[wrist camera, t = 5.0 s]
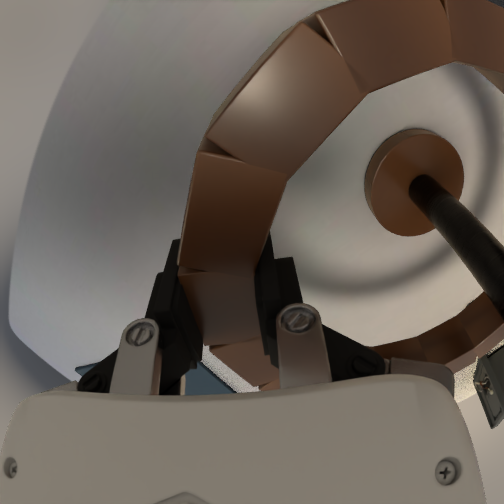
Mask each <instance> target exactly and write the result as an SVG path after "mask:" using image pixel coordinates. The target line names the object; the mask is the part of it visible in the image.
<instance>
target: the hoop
mask: <svg viewBox="0 0 504 504" xmlns="http://www.w3.org/2000/svg"><path fill="white" fill-rule="evenodd" d="M452 62H453V63H458V64H462V65H467V66H471V67H474V68H475V69H476V70H477V71H479V72H480V73H481V74H482V75H483V76H484V77H486V78H487V79H488V80H489V81H490V82H491V83H492V84H494V85H495V86H496V87H497V88H498V89H499V90H500V91H501V92H502V93H503V94H504V8H502V7H500V6H498V5H496V4H494V3H492V2H489V1H487V0H348V1H345V2H342V3H339V4H336V5H333V6H330V7H327V8H324V9H322V10H319V11H316V12H314V13H313V14H311V15H309V16H307V17H306V18H304V19H302V20H301V21H299V22H297V23H296V24H295V25H294V26H292V27H290V28H289V29H287V30H285V31H284V32H283V33H282V34H281V35H280V36H279V37H278V38H277V39H276V40H275V41H274V42H273V43H272V45H271V46H270V47H269V48H268V49H267V50H266V51H265V52H264V54H263V55H262V56H261V57H260V58H259V59H258V60H257V62H256V63H255V64H254V65H253V66H252V67H251V69H250V70H249V71H248V72H247V73H246V74H245V76H244V77H243V78H242V79H241V80H240V82H239V83H238V84H237V85H236V87H235V88H234V89H233V90H232V92H231V93H230V94H229V95H228V97H227V98H226V99H225V100H224V102H223V103H222V104H221V106H220V107H219V108H218V109H217V111H216V112H215V113H214V115H213V117H212V119H211V121H210V124H209V126H208V128H207V130H206V132H205V134H204V137H203V139H202V141H201V143H200V146H199V148H198V150H197V154H196V158H195V163H194V168H193V173H192V178H191V183H190V188H189V193H188V198H187V204H186V209H185V215H184V221H183V226H182V232H181V238H180V245H179V251H178V257H177V265H178V266H180V267H179V271H178V278H179V281H180V284H182V286H183V289H184V291H185V294H186V297H187V299H188V302H189V305H190V307H191V310H192V313H193V315H194V318H195V321H196V323H197V326H198V328H199V331H200V333H201V336H202V338H203V343H204V345H205V346H209V351H210V352H211V353H212V354H213V355H215V356H216V357H217V358H218V359H219V360H221V361H222V362H223V363H224V364H225V365H227V366H228V367H229V368H230V369H232V370H233V371H234V372H235V373H237V374H238V375H239V376H240V377H242V378H243V379H244V380H245V381H247V382H248V383H249V384H251V385H252V386H253V387H256V386H259V390H261V391H269V390H278V389H280V382H279V369H278V368H276V367H275V366H273V365H272V364H271V361H270V355H267V356H265V355H264V349H263V343H262V337H261V331H260V325H259V320H258V314H257V308H256V300H255V287H254V276H255V270H256V268H257V265H258V262H259V259H260V257H261V254H262V251H263V248H264V245H265V243H266V240H267V237H268V234H269V231H270V229H271V226H272V223H273V220H274V217H275V215H276V212H277V209H278V206H279V203H280V201H281V198H282V195H283V192H284V189H285V186H286V184H287V181H288V180H289V179H290V178H291V177H292V176H293V175H294V173H295V172H296V171H297V170H298V169H299V168H300V167H301V166H302V165H303V164H304V162H305V161H306V160H307V159H308V158H309V157H310V156H311V155H312V154H313V153H314V151H315V150H316V149H317V148H318V147H319V146H320V145H321V144H322V143H323V142H324V141H325V139H326V138H327V137H328V136H329V135H330V134H331V133H332V132H333V131H334V130H335V129H336V128H337V126H338V125H339V124H340V123H341V122H342V121H343V120H344V119H345V118H346V117H347V116H348V115H349V114H350V112H351V111H352V110H353V109H354V108H355V107H356V106H357V105H358V104H359V103H360V102H361V101H362V100H363V99H364V97H365V96H366V95H367V94H369V93H371V92H374V91H376V90H378V89H381V88H383V87H386V86H388V85H391V84H393V83H396V82H398V81H401V80H404V79H406V78H409V77H412V76H414V75H417V74H420V73H423V72H425V71H428V70H431V69H434V68H437V67H440V66H443V65H446V64H449V63H452ZM503 339H504V321H503V319H502V318H501V316H500V314H499V313H498V311H497V310H496V308H495V307H494V305H493V304H492V302H491V301H490V299H489V297H488V296H487V295H486V293H485V292H483V293H482V294H481V295H479V296H478V297H477V298H476V299H475V300H474V301H473V302H472V303H471V304H469V305H468V306H467V307H466V308H465V309H464V310H463V311H461V312H460V313H459V314H458V315H456V316H455V317H453V318H451V319H449V320H447V321H446V322H444V323H442V324H440V325H438V326H436V327H434V328H432V329H431V330H429V331H427V332H425V333H423V334H421V335H419V336H417V337H413V338H409V339H405V340H401V341H397V342H392V343H388V344H383V345H379V346H374V347H369V346H366V347H368V348H370V349H372V350H374V351H375V352H377V353H378V354H380V355H381V357H382V358H383V359H389V360H391V358H392V357H395V358H401V359H408V360H415V361H423V362H431V363H439V364H442V365H445V366H447V367H448V368H449V369H450V370H451V371H452V373H453V374H454V373H456V372H458V371H460V370H462V369H463V368H465V367H467V366H469V365H470V364H472V363H474V362H475V361H476V356H478V357H479V358H481V357H482V356H484V355H485V354H486V353H487V352H489V351H490V350H491V349H492V348H493V347H495V346H496V345H497V344H498V343H499V342H501V341H502V340H503Z"/></svg>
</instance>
